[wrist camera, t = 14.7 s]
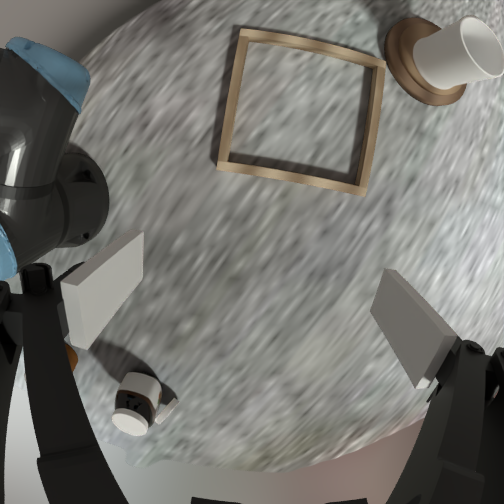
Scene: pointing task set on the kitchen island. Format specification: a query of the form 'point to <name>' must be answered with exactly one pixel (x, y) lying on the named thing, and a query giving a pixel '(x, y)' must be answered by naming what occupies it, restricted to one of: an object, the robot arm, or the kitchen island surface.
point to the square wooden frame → (319, 48)
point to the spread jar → (139, 403)
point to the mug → (459, 54)
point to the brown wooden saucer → (404, 67)
